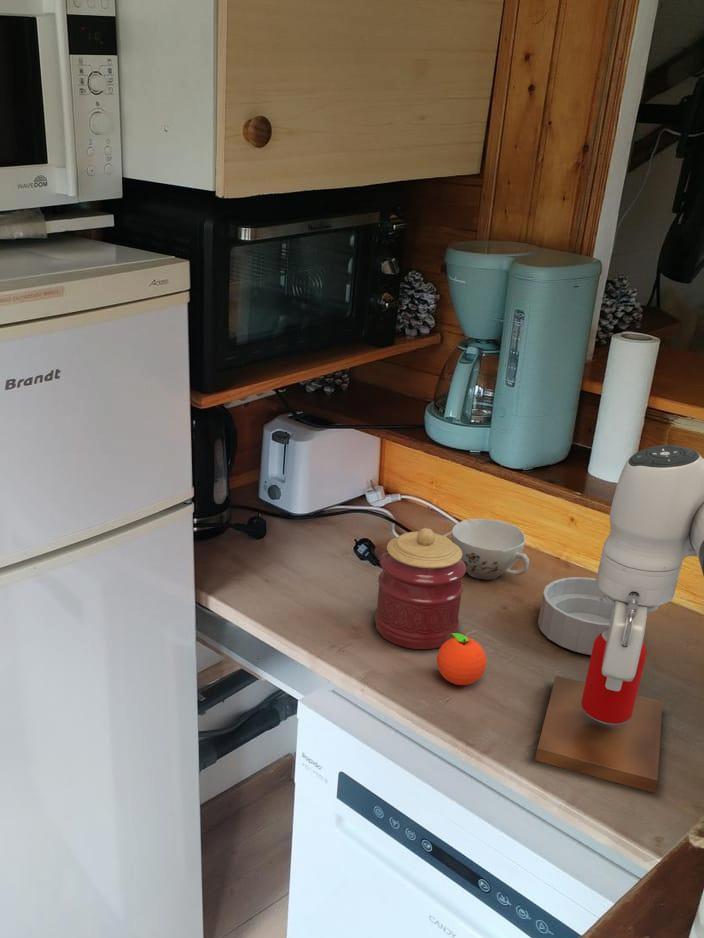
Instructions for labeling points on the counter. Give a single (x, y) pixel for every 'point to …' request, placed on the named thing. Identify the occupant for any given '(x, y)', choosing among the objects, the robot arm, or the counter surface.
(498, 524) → the teacup
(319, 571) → the counter surface
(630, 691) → the beverage can
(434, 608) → the kitchen canister
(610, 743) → the cutting board
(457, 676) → the clementine
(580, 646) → the grey round bowl
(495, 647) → the counter surface
